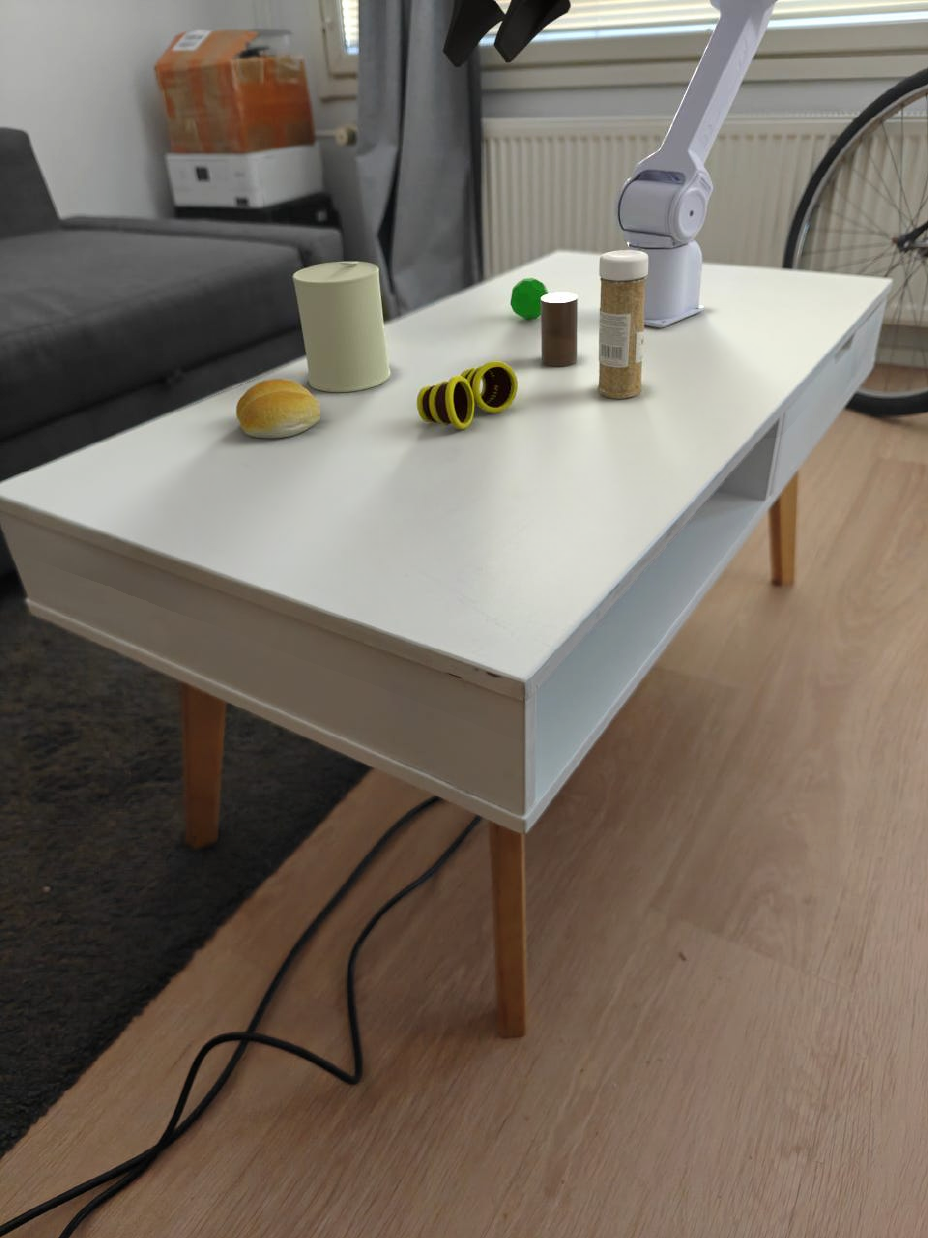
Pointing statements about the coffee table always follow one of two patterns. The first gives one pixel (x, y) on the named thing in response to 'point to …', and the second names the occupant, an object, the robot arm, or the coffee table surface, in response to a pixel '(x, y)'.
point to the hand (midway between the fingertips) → (475, 56)
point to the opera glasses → (468, 395)
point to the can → (342, 325)
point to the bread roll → (277, 409)
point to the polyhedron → (528, 298)
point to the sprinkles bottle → (621, 322)
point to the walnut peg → (559, 329)
